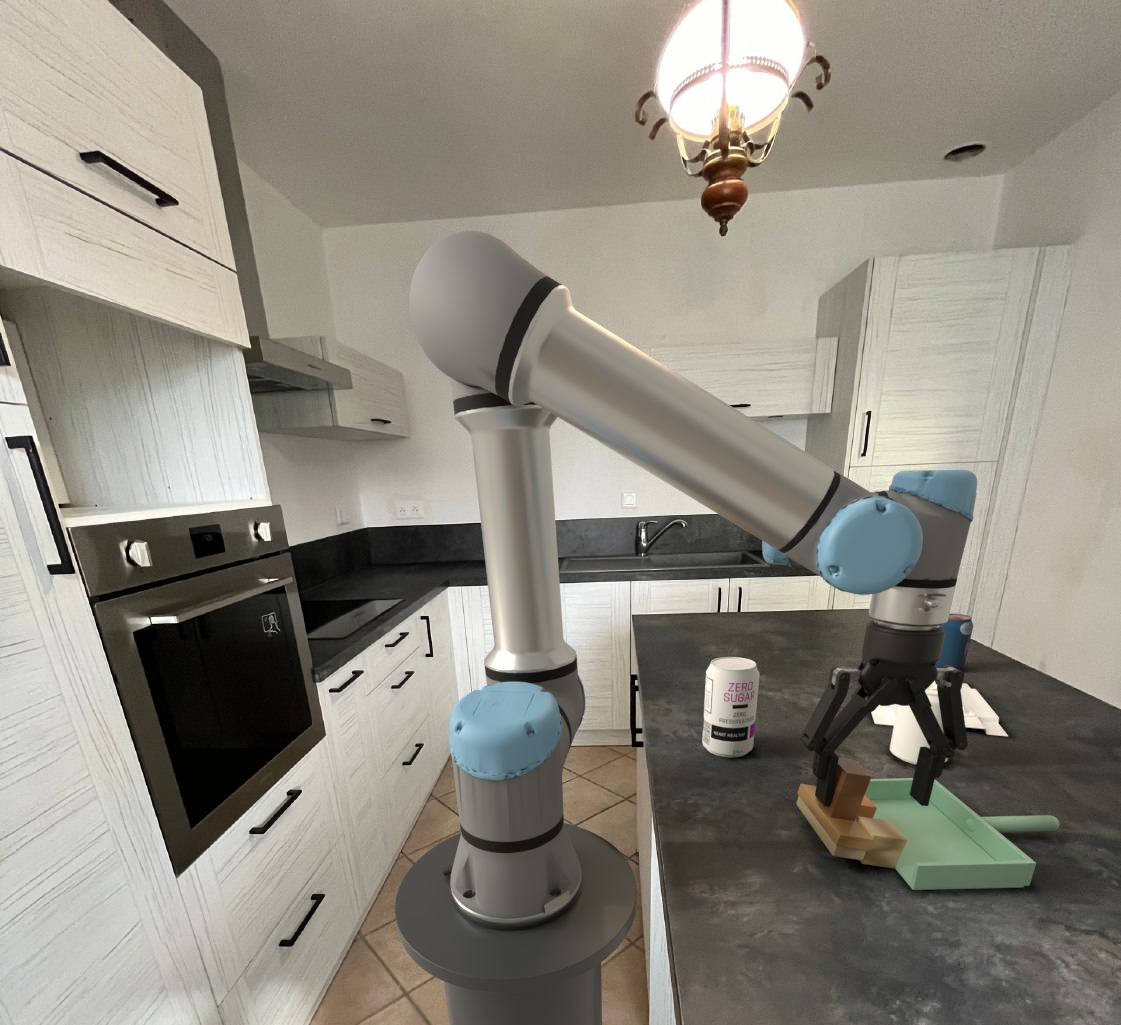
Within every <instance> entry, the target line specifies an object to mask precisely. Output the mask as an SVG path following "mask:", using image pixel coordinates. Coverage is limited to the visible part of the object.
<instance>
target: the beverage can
mask: <svg viewBox="0 0 1121 1025" xmlns="http://www.w3.org/2000/svg"><path fill="white" fill-rule="evenodd" d="M925 692H926V694H927V696H928V699H929V701H930V703H931V705H932V706H931V709H932V711H933V713H934V715H935V717H936V719H937V721H938V723H939V725H940V727H941V729H942V732H943V726H942V719H941V713H940V706H939V699H938V692H937V685H936V683H935V681H934V682H933V683H932V684H931V685H930V686H929V687H928V688H927V689H926V690H925ZM943 734H944V733H943ZM920 747H928V748H930V746H929V745H928V743H927V741H926V739H925V737H924V735H923V733H922V731H921V729H920V727H919V725H918V723H917V721H916V719H915V717H914V714H913V712H912V710H911V708H910V706H901V705H898V706H897V711H896V716H895V722H894V726H893V728H892V733H891V739H890V744H889V751H890V752H891V754H892V755H893V756H894V757H896V758H898V759H899V760H902V761H903V762H906V763H909V764H911V765H916V763H917V759H918V755H919V750H920ZM948 761H949V758H946V759H945V763H946V762H948Z"/></svg>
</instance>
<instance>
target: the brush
mask: <svg viewBox="0 0 1121 1025" xmlns="http://www.w3.org/2000/svg"><path fill="white" fill-rule="evenodd" d="M872 777H873V776H872V775H871V774H870V773H869V772H868V771H867V770H866V769H864V767H862V766H861V764H859V763H858V762H857V760H855V759H852V758H845V757H839V759H838V765H837V771H836V777H835V782H834V788H833V794H832V799H831V805H830V806H823V805H822V803H821V802H820V801H819V800H818V798H817V797H816V796H815V792H816V786H817V785H813V784H805V783H800V785H799V787H798V790H797V795H798V797H797V800H796V803H795V805H796V806H797V807H798V809H799V810H800V812H801V813H802V814H803V816H804V818H805V819H806V820H807V821H808V823H809V824H810V826H811V827H812V829H813V830H814V832H815V833H816V834H817V836H818V838H819V839H820V840H821V842H822V843H823V844H824V845H825V847H826V848H827V850H828V851H829V853H830V854H831V856H833V857H836V858H837V857H838V858H844V859H852V860H857V861H859V860H863V858H864V856H865V853H866V851H867V850H868V851H870V849H871V847H872V844H873V842H874V839H873V838H872V837H871V836H870V834H869V833H868V832H867V831H866V830H865V829H864V827H863V826H862V825H861V824H860V823H859V822H858V820H857V819H856V816H857V813H858V811H859V808H860V806H861V803H862V800H863V798H864V795H865V793H866V790H867V787H868V785H869V782H870V780H871V779H872Z"/></svg>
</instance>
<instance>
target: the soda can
mask: <svg viewBox="0 0 1121 1025" xmlns="http://www.w3.org/2000/svg"><path fill="white" fill-rule="evenodd" d="M972 618H973V617H972V616H971V615H968V614H962V613H949V618H948V622H946V623H945V624H943V625H940V626H942V627H943V628H944V630H945V631H946V633H945V638H944V642H943V647H942V651H941V655H940V659H939V660H938V661H937V662H936V668H942V666H944V665H949V666H951V667H953V668H955V669H957V670H960V671H962V669H963V668H964V667H965V665H966V662H967V657H968V652H969V649H970V648H969V647H970V644H971V639H972V633H973V629H974V623H973V621H972Z"/></svg>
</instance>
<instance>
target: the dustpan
mask: <svg viewBox="0 0 1121 1025" xmlns="http://www.w3.org/2000/svg"><path fill="white" fill-rule="evenodd" d="M912 781H913V777H902V778H901V777H899V778H898V777H897V778H896V777H895V778H871V780H870V782H869V785H868V787H867V790H866V793H865V795H866V796H867V797H868V798H869V799H870V801H871V802H872V803H873V804H874V805H875V806H876V807H877V810H876V812H875V814H874V817H873V819H880V820H886V821H890V822H891V823H892V824H893V825H894V826H895V827H896V828H897V829H898V831H899V832H900V833H901V834H902V835H903V836H904V837H905V838H906V839H907V842H906V844H905V847H904V849H903V851H902V853H901V856H900V858H899V860H898V862H897V865H896V867H895V869H894V870H896V871H897V873H898V874H899V875H900V876H901V877H902V879H903V880H904V881H905V882H906V883H907V885H908V886H909V887H910V888H911V890H912V891H923V890H924V891H925V890H927V891H928V890H966V889H967V890H972V889H1010V888H1011V889H1012V888H1013V889H1015V888H1025V887H1029V886H1031V882H1032V879H1033V875H1034V872H1035V869H1036V866H1037V862H1036V861H1035V860H1034V859H1033V858H1031V857H1030V856H1028V855H1027V854H1026V853H1025V852H1023V851H1022V850H1021V848H1019V847H1018V846H1017V845H1015V844H1014V843H1013V842H1012V841H1011V840H1010V839H1008V838H1006V837H1005V836H1004V835H1003V834H1012V833H1013V834H1015V833H1017V834H1018V833H1052V832H1053V833H1054V832H1056V831H1058V830H1059V829H1060V827H1061V822H1060V820H1059V819H1058V818H1057V817H1055V816H1053V815H1051V814H1049V815H1048V814H1043V815H1042V814H1040V815H1005V816H1004V815H1000V816H980V815H979V814H978V813H976V812H975V811H974V810H973V809H972V808H970V807H969V806H968V805H967V804H966V803H964V802H963V801H962V800H961V799H959V798H958V797H957V796H955V794H954V793H952V792H951V791H950V790H949V789H948V788H946V787H945V786H944V785H942V784H941V783H940V782H939V781H938V780H936V779H935V780H934V784H933V788H932V792H931V797H930V801H929V805H928V806H921V805H920V804H919V803H918V802H917V801H916V800H915V799H914V798H913V797H912V796H910V795H909V794H910V790H911V786H912Z"/></svg>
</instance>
